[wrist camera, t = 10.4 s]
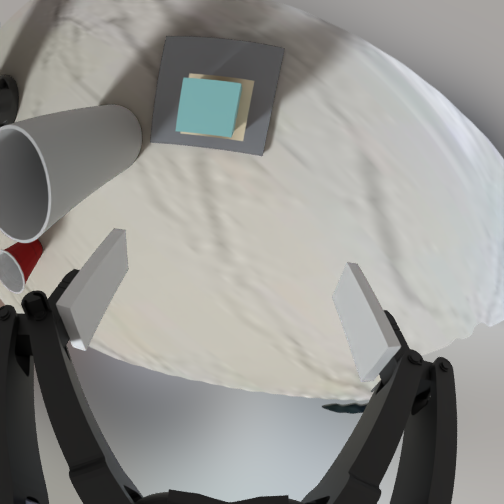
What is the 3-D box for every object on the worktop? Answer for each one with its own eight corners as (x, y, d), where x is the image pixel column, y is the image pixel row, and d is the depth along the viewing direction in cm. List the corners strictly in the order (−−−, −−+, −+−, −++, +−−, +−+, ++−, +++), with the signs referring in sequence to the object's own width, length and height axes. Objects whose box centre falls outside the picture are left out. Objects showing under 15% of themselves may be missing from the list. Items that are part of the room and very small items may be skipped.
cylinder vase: (132, 181, 43) (50, 259, 22) (77, 162, 40) (-18, 221, 19) (153, 114, 37) (59, 138, 16) (93, 97, 34) (-17, 117, 13)
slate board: (153, 141, 39) (150, 142, 38) (168, 38, 30) (166, 36, 29) (261, 154, 41) (262, 156, 40) (283, 50, 32) (284, 48, 31)
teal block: (189, 125, 27) (175, 131, 21) (195, 82, 24) (183, 77, 19) (234, 130, 27) (231, 137, 22) (242, 87, 25) (241, 83, 19)
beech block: (190, 128, 32) (180, 133, 27) (198, 78, 29) (189, 73, 23) (243, 135, 33) (243, 141, 28) (253, 84, 29) (254, 80, 24)
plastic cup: (51, 235, 48) (21, 264, 37) (50, 270, 53) (26, 301, 42) (20, 218, 45) (-11, 244, 35) (21, 253, 50) (-5, 281, 40)
